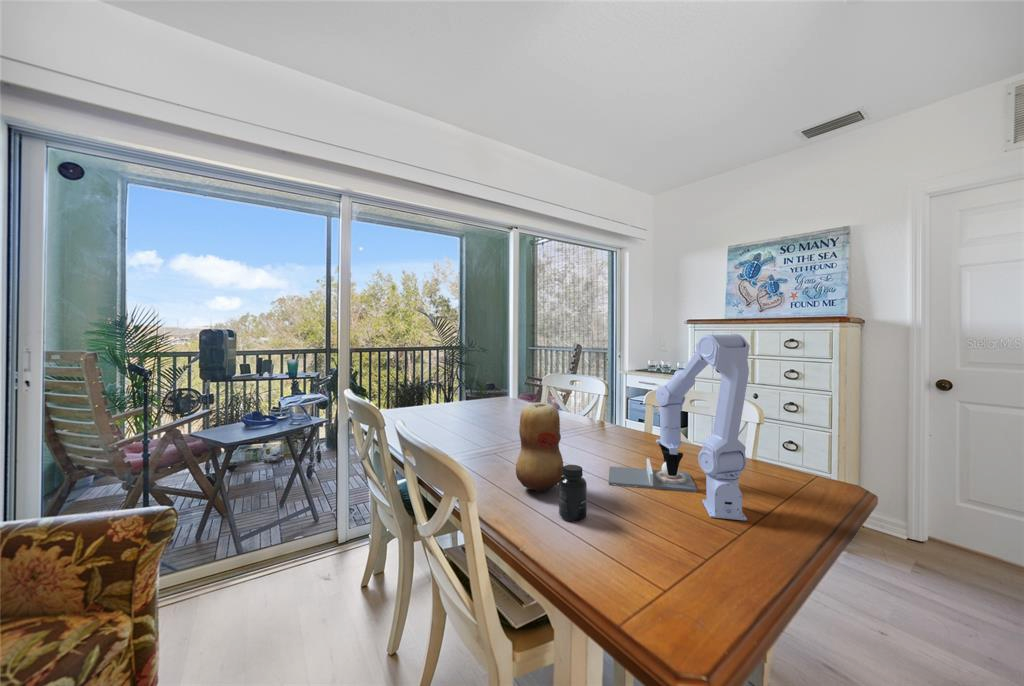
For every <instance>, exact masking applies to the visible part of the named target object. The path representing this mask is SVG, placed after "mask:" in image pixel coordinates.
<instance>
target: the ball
mask: <svg viewBox="0 0 1024 686" xmlns="http://www.w3.org/2000/svg"><path fill="white" fill-rule="evenodd" d="M661 470H662V473H663V474H664V475H665V476H666V477H668V478H675V477H677V476H678V475H679V472H681V471H680V467H679V466H678V471H677V475H676V476H669V475H668V471H667V466H666V462H665V463H664V462H663V463H662V465H661Z"/></svg>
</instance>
